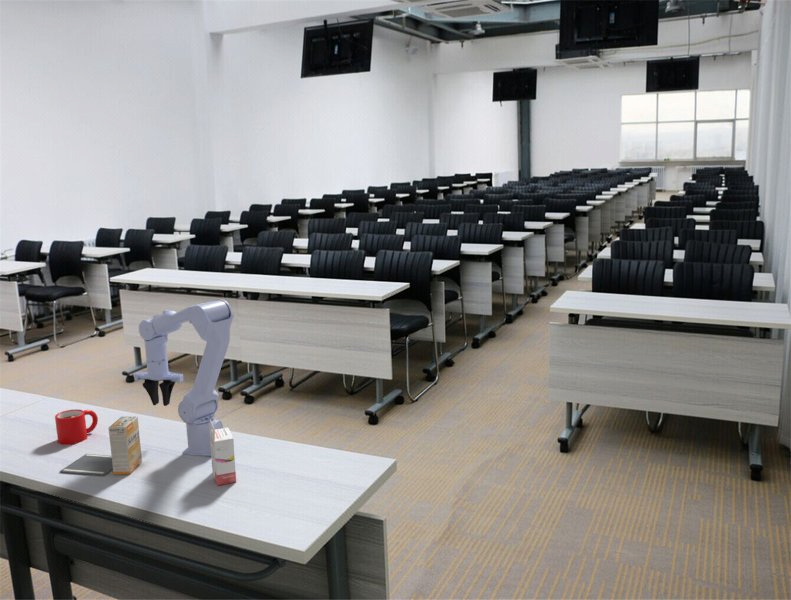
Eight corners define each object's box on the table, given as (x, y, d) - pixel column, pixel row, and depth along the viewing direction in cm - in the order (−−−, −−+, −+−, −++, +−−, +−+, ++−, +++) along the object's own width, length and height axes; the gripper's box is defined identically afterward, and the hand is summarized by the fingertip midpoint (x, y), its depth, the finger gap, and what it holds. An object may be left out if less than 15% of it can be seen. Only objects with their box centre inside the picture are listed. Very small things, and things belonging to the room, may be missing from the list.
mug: (105, 433, 208) (102, 408, 207) (67, 446, 199) (63, 420, 197) (91, 427, 213) (88, 403, 211) (52, 440, 203) (49, 415, 202)
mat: (128, 458, 190) (128, 456, 190) (103, 476, 180) (103, 474, 179) (86, 455, 193) (86, 453, 193) (59, 472, 182) (59, 470, 182)
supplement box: (131, 474, 180) (126, 427, 177) (112, 475, 180) (107, 427, 177) (143, 461, 188) (138, 415, 185) (125, 461, 188) (120, 415, 186)
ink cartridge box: (237, 482, 174) (233, 427, 171) (217, 486, 173) (213, 430, 170) (231, 468, 182) (227, 415, 179) (212, 472, 180) (207, 418, 177)
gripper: (187, 356, 201) (190, 400, 204) (141, 354, 204) (146, 398, 207) (174, 363, 194) (178, 409, 197) (128, 361, 197) (132, 406, 200)
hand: (161, 404), depth 201 cm, fingers open, 3 cm apart
